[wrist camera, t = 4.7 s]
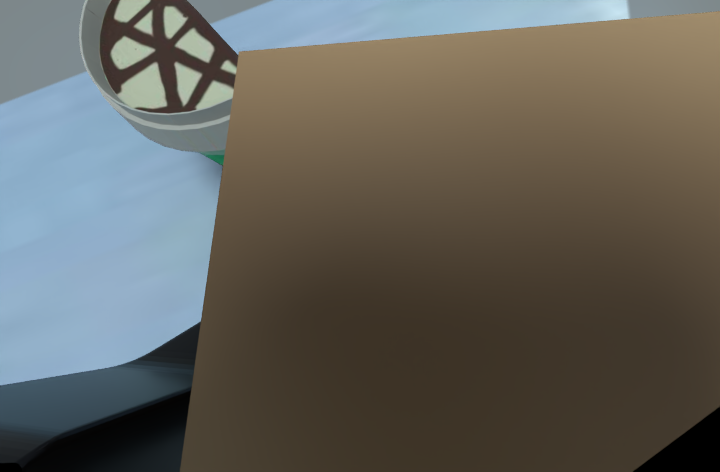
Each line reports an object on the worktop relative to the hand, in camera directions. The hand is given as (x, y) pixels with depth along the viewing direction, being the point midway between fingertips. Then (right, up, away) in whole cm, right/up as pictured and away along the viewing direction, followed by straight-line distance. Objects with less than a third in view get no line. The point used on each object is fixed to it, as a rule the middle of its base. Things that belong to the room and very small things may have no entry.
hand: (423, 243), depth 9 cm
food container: (-10, +6, +14) cm, 18 cm away
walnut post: (+1, -3, +6) cm, 7 cm away
